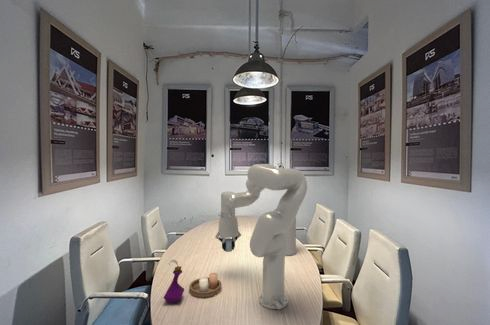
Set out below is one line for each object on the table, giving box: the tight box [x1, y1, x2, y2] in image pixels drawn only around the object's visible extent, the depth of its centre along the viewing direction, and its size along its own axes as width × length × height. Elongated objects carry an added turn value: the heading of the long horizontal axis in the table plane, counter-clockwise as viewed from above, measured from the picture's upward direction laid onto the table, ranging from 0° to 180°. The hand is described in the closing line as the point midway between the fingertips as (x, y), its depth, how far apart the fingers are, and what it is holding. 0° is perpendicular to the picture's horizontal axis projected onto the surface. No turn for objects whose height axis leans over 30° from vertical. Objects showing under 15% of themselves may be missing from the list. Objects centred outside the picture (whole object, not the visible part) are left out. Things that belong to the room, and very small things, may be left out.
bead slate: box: [224, 237, 233, 253], centre depth 137 cm, size 4×4×6 cm
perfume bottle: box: [163, 258, 185, 304], centre depth 114 cm, size 8×8×18 cm
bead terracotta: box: [208, 272, 219, 289], centre depth 124 cm, size 4×4×6 cm
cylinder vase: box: [284, 216, 297, 257], centre depth 171 cm, size 12×12×25 cm
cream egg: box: [198, 276, 208, 292], centre depth 119 cm, size 4×4×6 cm
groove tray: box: [188, 276, 222, 299], centre depth 123 cm, size 15×15×2 cm
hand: (228, 249), depth 137 cm, fingers closed on bead slate, 4 cm apart
